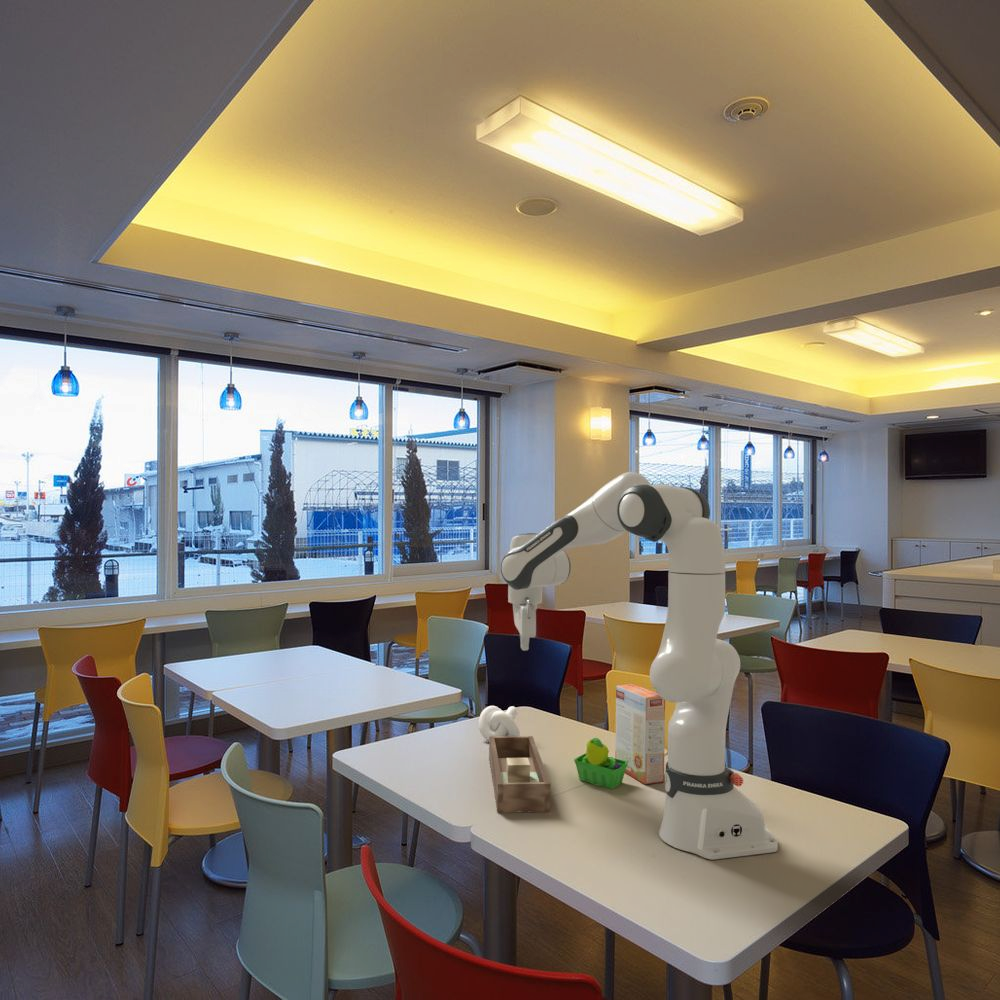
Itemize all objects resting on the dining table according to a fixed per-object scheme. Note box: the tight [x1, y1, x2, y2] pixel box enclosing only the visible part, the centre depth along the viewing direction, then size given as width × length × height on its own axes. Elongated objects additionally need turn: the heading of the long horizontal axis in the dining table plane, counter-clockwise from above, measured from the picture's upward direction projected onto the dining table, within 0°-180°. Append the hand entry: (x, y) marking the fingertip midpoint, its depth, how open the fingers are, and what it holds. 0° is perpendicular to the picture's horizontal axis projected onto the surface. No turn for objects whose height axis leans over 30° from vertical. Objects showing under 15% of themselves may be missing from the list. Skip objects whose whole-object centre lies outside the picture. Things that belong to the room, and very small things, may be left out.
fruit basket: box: [573, 737, 628, 790], centre depth 176 cm, size 11×9×11 cm
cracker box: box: [614, 683, 666, 785], centre depth 182 cm, size 14×6×21 cm, turn 22°
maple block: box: [506, 758, 530, 783], centre depth 169 cm, size 5×5×4 cm
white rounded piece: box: [478, 705, 521, 742], centre depth 209 cm, size 11×12×9 cm
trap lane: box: [488, 735, 551, 813], centre depth 174 cm, size 11×34×6 cm, turn 4°
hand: (524, 649), depth 189 cm, fingers closed
